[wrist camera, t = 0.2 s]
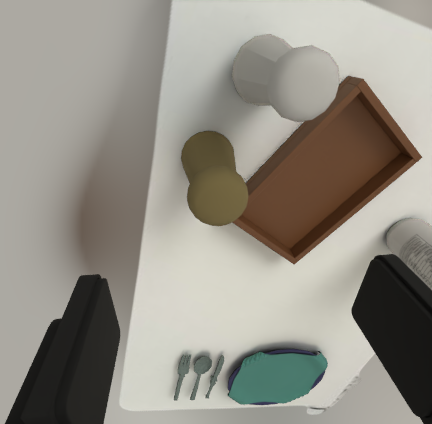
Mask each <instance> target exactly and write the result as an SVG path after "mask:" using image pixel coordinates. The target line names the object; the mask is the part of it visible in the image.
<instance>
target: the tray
mask: <svg viewBox="0 0 432 424" xmlns="http://www.w3.org/2000/svg"><path fill="white" fill-rule="evenodd" d="M421 158H422V156H421V155H420V154H419V152H418V151H417V150H416V148H415V147H414V146H413V144H412V143H411V142H410V140H409V139H408V138H407V136H406V135H405V134H404V132H403V131H402V130H401V128H400V127H399V126H398V124H397V123H396V122H395V120H394V119H393V118H392V116H391V115H390V114H389V112H388V111H387V110H386V109H385V107H384V106H383V105H382V103H381V102H380V101H379V99H378V98H377V97H376V95H375V94H374V93H373V91H372V90H371V89H370V87H369V86H368V85H367V83H366V82H365V81H364V79H361V78H356V77H351V76H348V77H347V78H346V79H345V80H344V81H343V82H342V83H341V84H340V85H339V86H338V90H337V93H336V97H335V99H334V100H333V102H332V103H331V104H330V106H329V107H328V108H327V110H326V111H325V112H323V113H322V114H320V115H319V116H317V117H316V118H314V119H313V120H307V121H305V122H304V123H303V124H302V125H301V126H300V127H299V128H298V129H297V130H296V131H295V132H294V133H293V134H292V135H291V137H290V138H289V139H288V140H287V141H286V142H285V143H284V144H283V145H282V146H281V147H280V148H279V149H278V150H277V151H276V152H275V153H274V154H273V155H272V156H271V157H270V159H269V160H268V161H267V162H266V163H265V164H264V165H263V166H262V167H261V168H260V169H259V170H258V171H257V172H256V173H255V174H254V175H253V176H252V177H251V178H250V179H249V181H248V182H247V183H246V186H247V189H248V202H247V206H246V208H245V210H244V212H243V213H242V215H241V216H239V217H238V218H237V219H236V220H235V221H233V222H232V223H234V224H235V225H237V226H238V227H240V228H241V229H243V230H244V231H246V232H247V233H249V234H250V235H252V236H253V237H255V238H256V239H257V240H259V241H260V242H262V243H263V244H265V245H266V246H268V247H269V248H271V249H272V250H274V251H275V252H277V253H278V254H280V255H281V256H282V257H284V258H285V259H287V260H288V261H290V262H291V263H293V264H295V263H297V262H298V261H299V260H300V259H301V258H303V257H304V256H305V255H306V254H307V253H309V252H310V251H311V250H312V249H313V248H315V247H316V246H317V245H318V244H319V243H321V242H322V241H323V240H324V239H325V238H327V237H328V236H329V235H330V234H331V233H333V232H334V231H335V230H336V229H337V228H339V227H340V226H341V225H342V224H343V223H345V222H346V221H347V220H348V219H349V218H351V217H352V216H353V215H354V214H355V213H357V212H358V211H359V210H360V209H361V208H363V207H364V206H365V205H366V204H367V203H368V202H370V201H371V200H372V199H373V198H374V197H376V196H377V195H378V194H379V193H380V192H382V191H383V190H384V189H385V188H386V187H388V186H389V185H390V184H391V183H392V182H394V181H395V180H396V179H397V178H398V177H400V176H401V175H402V174H403V173H404V172H406V171H407V170H408V169H409V168H410V167H412V166H413V165H414V164H415V163H416V162H418V161H419V160H420V159H421Z"/></svg>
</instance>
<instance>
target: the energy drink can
mask: <svg viewBox="0 0 432 424" xmlns="http://www.w3.org/2000/svg"><path fill="white" fill-rule="evenodd" d="M386 240H387V247H388V249H389V250H390V251H391V252H392V253H393V254H394V255H396V256H398V257H399V258H400V259H401V260H402V261H403V262H404V263H405V264H406V265H407V266H408V267H409V268H410V269H411V270H412V271H413V272H414V273H415V274H416V275H417V276H418V277H419V278H420V279H421V280H422V281H423V282H424V283H425V284H426V285H427V286H428V287H429V288H430V289H431V290H432V226H431V225H429V224H428V223H427V222H425V221H424V220H421V219H412V218H408V219H404V220H401V221H399V222H397V223H395V224H394V225H393V226H392V227H391V228H390V229H389V231H388V233H387V236H386Z"/></svg>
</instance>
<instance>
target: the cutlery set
mask: <svg viewBox="0 0 432 424" xmlns="http://www.w3.org/2000/svg"><path fill="white" fill-rule="evenodd" d="M318 352H319V353H320V355H316V354H314V353H311V352H309V351H305V350H298V349H285V350H276V351H272V352H268V353H262V352H260V351H259V352H258V353H256V354H254V355H252V356H250V357H247V358H245V359H244V361H243V363H242V365H241V366H240V367H238V368H237V369H236V370H235V371H234V372H233V374H232V375H231V377H230V378H229V383H228V390H229V393H228V396H229V397H230V398H232V399H233V400H235V401H236V402H238V403H239V404H253V405H269V404H277V403H287V402H291V401H292V400H295V399H296V398H300V396H304V395H306V394H308V393H309V391H310V390H311V389H313V388H314V387H315V386H316V385H317V384H318V383H319V382H320V381H321V380H322V378H323V375H324V373H325V370H326V368H327V364H328V363H327V360H326V358H325V357H324V356H323V355H322V353H321V352H320V351H318ZM187 357H188V355H186V357H185V360H184V355H183V356H182V359H181V362H180V364H179V366H178V374H180V377H179V380H178V384H177V388H176V392H175V396H174V400H177V399H178V396H179V391H180V387H181V383H182V380H183V377H185V374H188V372H189V365H190V358H191V355H190V356H189V358H188V361H187ZM183 361H184V363H183ZM223 363H224V357H223V355H221V357H220V360H219V362H218V365H217V368H216V370H215V373H214V376H211V380H210V384H211V385H210V388H209V391H208V393H207V395H206V398H209V394H210V391H211V390H212V387H213V386H214V385H215V384H216V382H215V381H217V376H218V375H219V373H220V371H221V368H222V366H223ZM211 366H212V360H211V359H210V358H209V357H201V358H200V359H198V360H197V361H196V363H195V364H194V371H195V372H196V373H197V374H198V377H197V380H196V383H195V386H194V389H193V392H192V394H191V397H190V400H195V396H196V392H197V389H198V384H199V380H200V376H201V374H204V373H205V372H207V371H209V369H210V368H211Z"/></svg>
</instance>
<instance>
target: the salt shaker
mask: <svg viewBox="0 0 432 424" xmlns="http://www.w3.org/2000/svg"><path fill="white" fill-rule="evenodd" d="M232 79H233V82H234V85H235V88H236V91H237V92H238V94H239V95H240V96H241V97H242V98H243V99H244V100H245V101H246V102H248V103H251V104H255V105H258V106H267V105H271V106H272V107H273V108H274V109H275V110H276V111H277V112H278V114H279V115H280V116H281V117H283V118H286V119H289V120H293V121H297V122H301V121H307V120H313V119H314V118H316V117H317V116H319V115H320V114H322V113H323V112H325V111H326V110H327V108H328V107H329V106H330V104H331V103H332V102H333V100H334V99H335V97H336V93H337V90H338V86H339V83H340V80H339V70H338V65H337V64H336V62H335V61H334V59H333V58H332V57H331V55H330V54H329V53H327V52H326V51H324V50H321V49H319V48H317V47H314V46H312V45H311V46H304V47H298V48H292V47H291V46H290V45H289V44H288V43H287V42H285V41H284V40H283V39H281V38H278V37H276V36H274V35H271V34H267V35H261V36H255V37H254V38H252V39H251V40H250V41H248V42H247V43H246V44H244V45H243V46H242V47H241V48H240V50H239V52H238V54H237V56H236V58H235V60H234V64H233V72H232Z"/></svg>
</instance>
